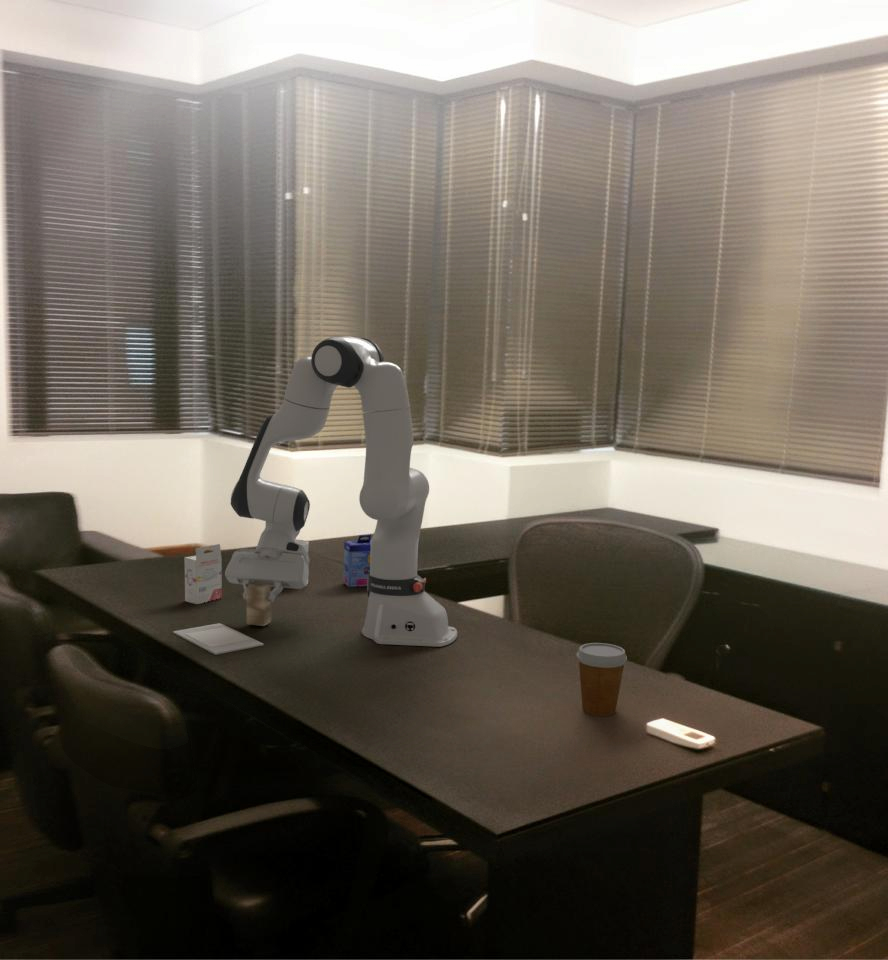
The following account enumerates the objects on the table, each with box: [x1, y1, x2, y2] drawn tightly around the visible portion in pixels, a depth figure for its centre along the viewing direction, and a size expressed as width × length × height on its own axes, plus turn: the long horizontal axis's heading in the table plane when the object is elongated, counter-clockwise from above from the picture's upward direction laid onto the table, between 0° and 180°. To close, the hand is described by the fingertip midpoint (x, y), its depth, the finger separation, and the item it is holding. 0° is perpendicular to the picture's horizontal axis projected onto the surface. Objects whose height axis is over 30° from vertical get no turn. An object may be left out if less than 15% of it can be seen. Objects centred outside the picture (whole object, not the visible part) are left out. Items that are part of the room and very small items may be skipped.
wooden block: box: [246, 584, 272, 627], centre depth 243 cm, size 4×4×9 cm
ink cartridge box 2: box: [342, 534, 372, 588], centre depth 287 cm, size 10×6×14 cm, turn 115°
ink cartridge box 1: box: [183, 543, 223, 605], centre depth 265 cm, size 9×5×15 cm, turn 143°
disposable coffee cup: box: [576, 642, 628, 717], centre depth 194 cm, size 10×10×12 cm
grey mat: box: [172, 622, 264, 656], centre depth 232 cm, size 20×12×1 cm, turn 41°
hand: (257, 599), depth 242 cm, fingers closed on wooden block, 4 cm apart
